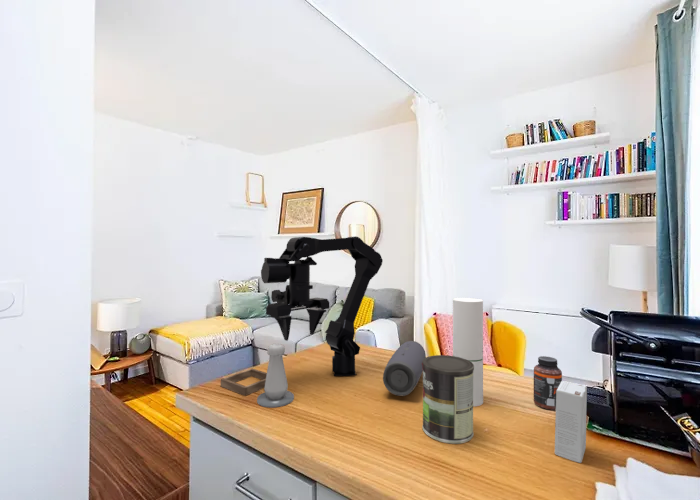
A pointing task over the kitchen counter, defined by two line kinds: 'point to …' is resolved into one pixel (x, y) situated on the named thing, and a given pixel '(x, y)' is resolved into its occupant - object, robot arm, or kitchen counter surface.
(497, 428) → the kitchen counter surface
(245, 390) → the square wooden frame
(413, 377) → the bluetooth speaker
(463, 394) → the coffee can
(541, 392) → the supplement bottle
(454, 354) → the cylindrical container
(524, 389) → the kitchen counter surface
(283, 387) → the salt shaker
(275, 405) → the coaster
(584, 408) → the skincare box
